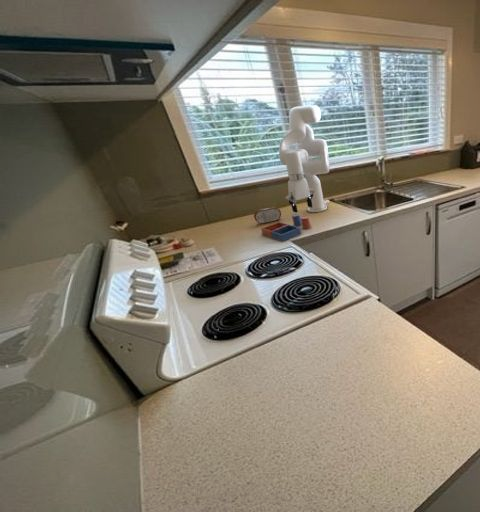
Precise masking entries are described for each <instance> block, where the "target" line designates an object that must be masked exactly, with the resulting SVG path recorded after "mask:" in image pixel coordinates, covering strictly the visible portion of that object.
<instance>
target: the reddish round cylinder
mask: <svg viewBox="0 0 480 512" xmlns="http://www.w3.org/2000/svg"><path fill="white" fill-rule="evenodd" d="M300 217H301V222H302V225H301V226H302V229H303V230H309V229H311V228H312V225H311V219H310V216H309V215H303V216H300Z"/></svg>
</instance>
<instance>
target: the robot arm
mask: <svg viewBox="0 0 480 512" xmlns="http://www.w3.org/2000/svg"><path fill="white" fill-rule="evenodd" d="M288 117H289V118H288V120H289V122H288V132H287V133H286V134H285V135H284V137H283V138H281V141H280V142H279V150H278V151H279V153H278V154H279V156H278V157H279V161H280V164H282V165H284V166H286V170H287V175H288V180H287V190H288V194H287V195H286V197H285V198H284V199H285V201H286V202H287V203H288V204H289V205H290V206H291V210H292V212H293V213H295V214H298V212H299V211H298V206H297V204H296V203H297V202H298V201H301V200H304V199H306V203H307V209H306V210H307V212H310V213H319V212H320V213H321V212H323V211H324V212H325V211H326V210H327V209H328V206H327V205H328V204H330V200H329V199H327V200H324V194H323V189H322V183H321V180H320V178H319V177H318V176H317V175H326V174H328V173H330V169H331V167H330V165H331V164H330V157H329V147H328V143H327V141H326V139H324V138H315V135H314V130H313V128H312V127H311V126H310V124H311V125H312V124H317V123H318V122H320V121H321V118H322V113H321V108H320V107H319V106H318V105H317V104H311V105H300V106H299V105H298V106H294V107H292V108H290V110H289V116H288ZM298 142H299V147H300V148H293V149H292V148H291V149H289V148H290V147H292V146H294V145H295V144H296V143H298ZM309 157H311V158H309Z"/></svg>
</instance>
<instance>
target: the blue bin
mask: <svg viewBox="0 0 480 512" xmlns="http://www.w3.org/2000/svg"><path fill="white" fill-rule="evenodd" d="M271 234H272V237H273V238H272V239H275V240H278V241H280V242H286V241H287V240H291V239H293V238H294V237H298V236H300V235H301V234H302V230H301V227H300V226H298V227H296V226H294V225H292V224H289V225H287V226H285V227H282V228H279V229H277V230H274V231H272V232H271Z"/></svg>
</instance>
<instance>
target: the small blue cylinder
mask: <svg viewBox="0 0 480 512" xmlns="http://www.w3.org/2000/svg"><path fill="white" fill-rule="evenodd" d="M301 217H302V216H301V214H300V213H294V214H292V215H291V218H292V222H293V226H296V227H301V226H302V222H301Z"/></svg>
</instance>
